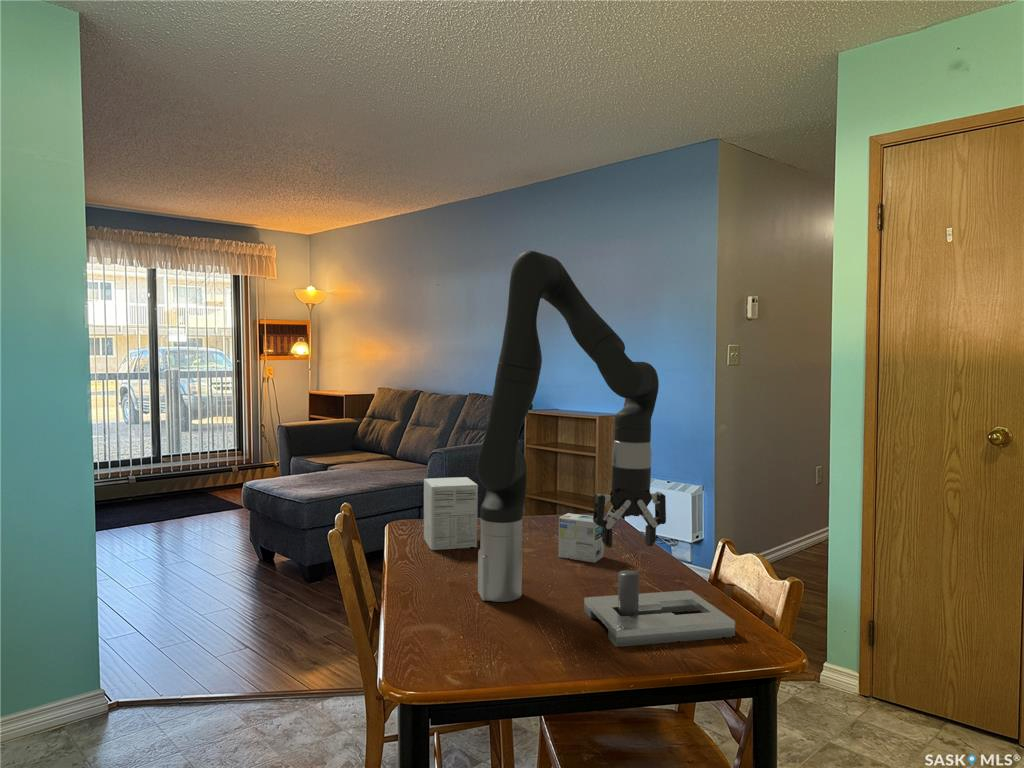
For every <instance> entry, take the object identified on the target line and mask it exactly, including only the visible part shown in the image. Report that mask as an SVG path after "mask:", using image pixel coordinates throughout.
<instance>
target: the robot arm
mask: <svg viewBox="0 0 1024 768" xmlns="http://www.w3.org/2000/svg"><path fill="white" fill-rule="evenodd" d="M541 299H543V300H545V301H546V302H547V303H549V304H550V305H551V306H552V307H554V308H555V309H556V310H557V311H558V312H559V313H560V315H561V316H562V317H563V319H564V320H565V322H566V324H567V326H568V328H569V331H570V332H571V335H572V337H573V338H574V340H575V341H576V343H577V344H578V345H579V346H580V347H581V349H582V350H583V351H584V352H585V354H587V356H588V357H589V358H590V359H591V360H592V361H593V362H594V363H595V364H596V367H597V369H598V371H599V372H600V374H601V376H602V378H603V380H604V382H605V383H606V385H607V386H608V387H609V389H610V390H611V391H612V392H613V393H615V395H618V396H619V397H621V398H623V399H624V403H623V408H622V409H621V410H619V411H618V412H617V413H616V414H615V416H614V433H613V434H614V435H613V446H612V454H611V455H612V456H611V485H610V486H611V491H610V493H609V494H602V493H600V492H597V493H595V495H594V505H593V515H592V516H593V522H594V523H596V524H597V525H598V526H602V542H603V543H604V547H606V548H607V549H611V548H612V547H613V528H612V527H613V526H614V525H615V523H616V522H617V521H619V520H620V518H621V517H622V516H623V517H624V518H625V517H632V516H633V517H640V516H641V517H642V519H643V520H644V521H645V522H646V524H647V525H645V535H644V537H645V540H644V541H645V542H644V543H645V545H646V546H647V547H653V546H654V544H655V543H656V537H657V536H656V535H657V527H658V526H660V525H664V524H666V523H667V510H666V509H667V504H666V495H665V494H664V493H662V492H661V491H656V492H655V493H651V478H652V476H651V475H652V473H651V472H652V447H651V444H652V443H651V441H652V440H651V439H652V438H651V436H652V417H653V414H654V412H655V411H654V410H655V407H656V404H657V403H656V402H657V398H658V394H659V386H660V383H659V381H660V380H659V376H658V372H657V370H656V369H655V367H654V366H653V365H652V364H651V363H649V362H645V361H632V359H631V358H630V357H628V355H627V353H626V352H625V351H626V345H625V342H624V341H623V340H622V338H621V337H620V336H619V334H617V333H616V332H615V330H614V329H612V327H611V326H610V325H609V324H608V323H607V322H606V321H605V320H604V319H603V318H602V317H601V316H600V314H599V313H598V312H597V311H596V310H595V309H594V307H592V305H591V304H590V303H589V302H588V301H587V299H586V298H585V296H583V294H582V292H581V291H580V290H579V288H578V287H577V285H576V284H575V282H574V281H573V279H572V277H571V276H570V274H569V272H568V271H567V270H566V268H565V266H564V265H563V264H562V263H561V261H560V260H558V259H557V258H555V257H553V256H551V255H548V254H545V253H543V252H539V251H535V250H527V251H524V252H522V253H521V254H519V256H518V257H517V258H516V260H515V261H514V263H513V265H512V268H511V272H510V279H509V289H508V299H507V301H508V303H507V311H506V312H507V313H506V321H505V325H504V330H503V331H504V332H503V339H502V344H501V349H500V353H499V357H498V363H497V368H496V372H495V378H494V379H495V380H494V386H493V390H492V391H493V393H492V398H491V402H490V410H489V417H488V422H487V426H486V431H485V433H484V434H485V435H484V438H483V440H482V445H481V448H480V451H479V455H478V457H477V460H476V461H477V462H476V474H477V475H476V476H477V478H478V480H479V482H480V483H481V484H482V486H484V487H485V488H486V491H485V496H484V499H483V501H482V503H481V505H480V538H479V539H480V543H479V545H480V546H479V547H480V548H479V549H478V552H477V593H478V595H479V596H480V599H481V600H482V601H483V602H484V601H490V602H495V603H496V602H498V603H504V602H505V603H507V602H512V601H516V600H519V599H520V598H521V597H522V583H523V582H522V580H523V579H522V578H523V577H522V576H523V574H522V573H523V569H522V568H523V512H524V511H523V510H524V507H525V503H526V491H527V471H528V470H527V460H526V457H525V454H524V453H523V452H522V450H521V449H520V448H519V447H518V446H519V440H520V439H519V438H520V433H521V429H522V426H523V424H524V421H525V420H526V416H527V414H528V413H529V410H530V407H531V406H532V404H533V401H534V398H535V396H536V392H537V389H538V384H539V380H540V374H541V369H542V363H543V359H542V357H543V355H542V348H541V344H540V338H539V333H538V328H537V327H538V326H537V325H538V323H537V321H538V318H537V317H538V312H539V306H540V301H541ZM608 502H610V503H611V505H612V506H611V507H610V508H609V510H608V511H607V514H606V515H604V514H605V507H606V506H607V505H608ZM651 502H652V503H653V504H654V516H653V514H652V512H651V511H650V509H649V508H648V506H649V504H650V503H651ZM604 516H605V517H604ZM603 519H604V520H603Z"/></svg>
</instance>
